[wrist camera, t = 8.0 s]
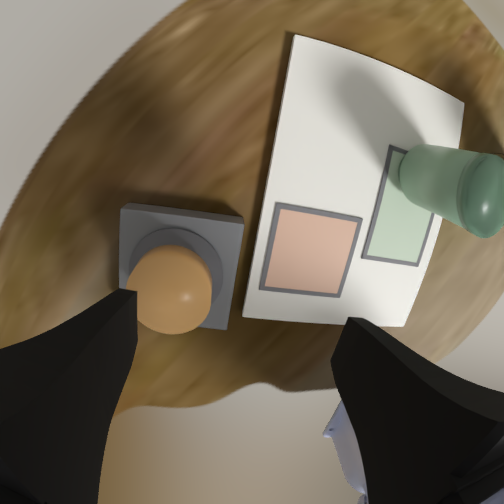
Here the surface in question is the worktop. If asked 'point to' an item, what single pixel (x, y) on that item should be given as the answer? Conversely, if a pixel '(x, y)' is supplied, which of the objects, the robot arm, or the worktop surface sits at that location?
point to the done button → (171, 289)
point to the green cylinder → (456, 186)
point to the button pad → (191, 237)
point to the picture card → (346, 191)
